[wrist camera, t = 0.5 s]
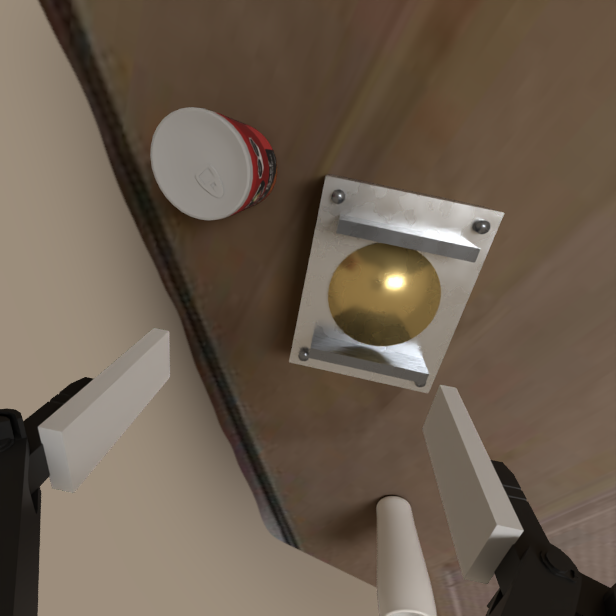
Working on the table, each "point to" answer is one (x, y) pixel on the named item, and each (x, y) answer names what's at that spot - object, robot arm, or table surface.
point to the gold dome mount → (388, 281)
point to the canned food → (211, 163)
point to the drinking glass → (401, 563)
